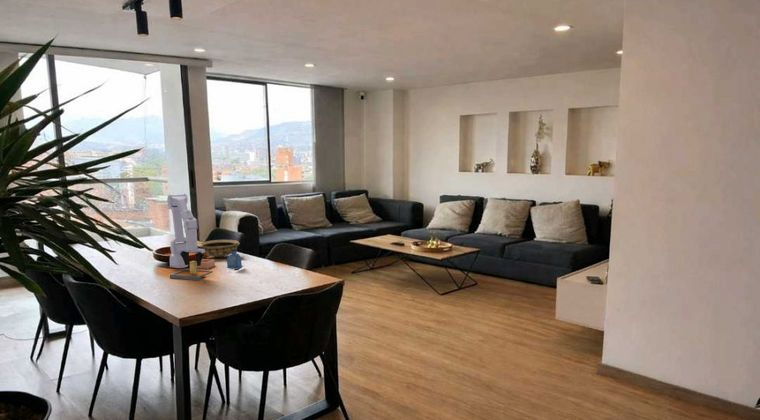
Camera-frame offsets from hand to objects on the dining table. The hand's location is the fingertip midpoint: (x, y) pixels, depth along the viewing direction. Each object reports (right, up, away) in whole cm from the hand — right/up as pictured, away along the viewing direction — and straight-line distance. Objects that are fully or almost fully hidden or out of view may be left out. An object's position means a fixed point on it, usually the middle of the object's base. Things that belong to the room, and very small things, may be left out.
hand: (192, 265), depth 273 cm
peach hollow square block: (+1, -4, +17) cm, 17 cm away
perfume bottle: (+18, -4, +18) cm, 26 cm away
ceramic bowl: (-1, -1, +47) cm, 47 cm away
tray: (-1, -6, +1) cm, 6 cm away
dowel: (0, -5, +1) cm, 5 cm away
